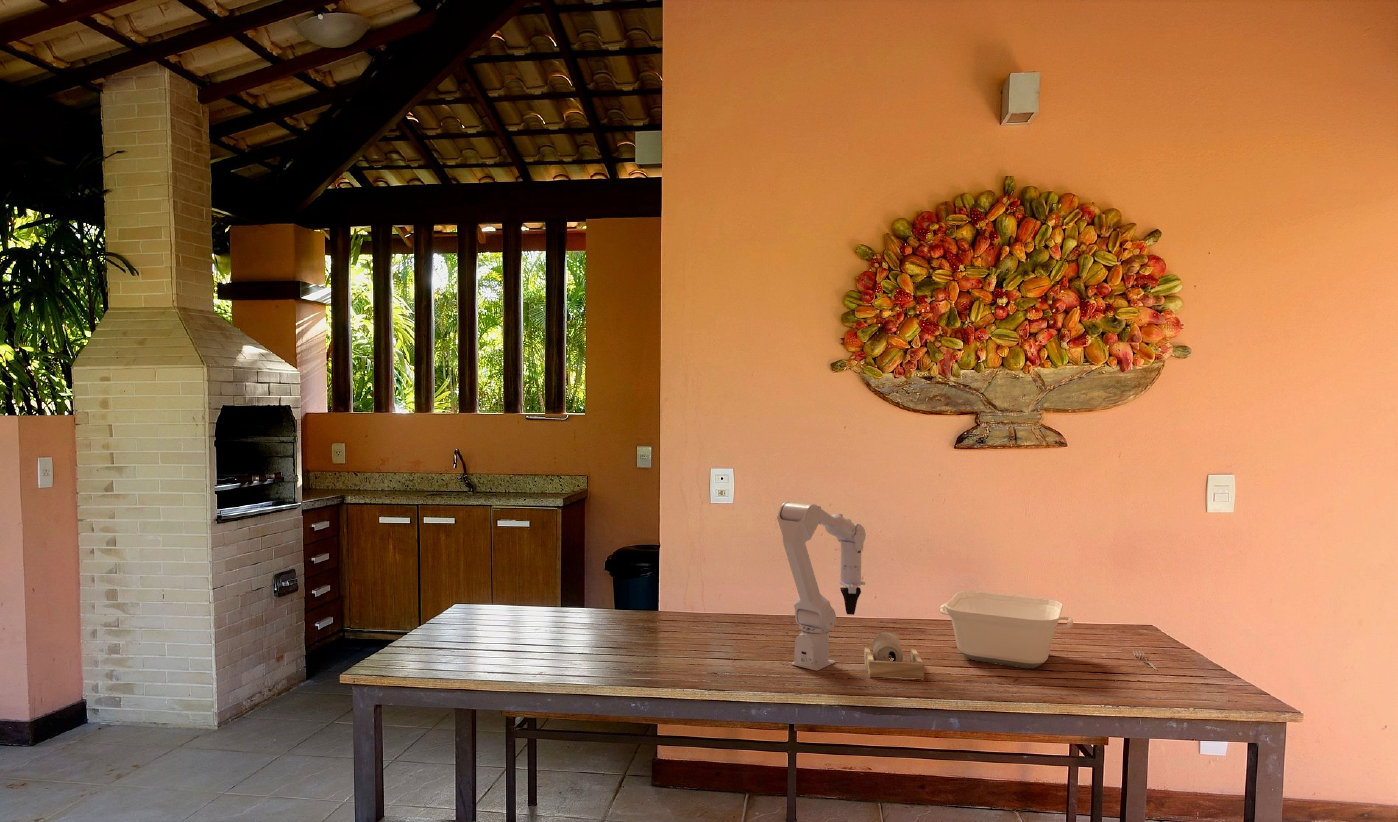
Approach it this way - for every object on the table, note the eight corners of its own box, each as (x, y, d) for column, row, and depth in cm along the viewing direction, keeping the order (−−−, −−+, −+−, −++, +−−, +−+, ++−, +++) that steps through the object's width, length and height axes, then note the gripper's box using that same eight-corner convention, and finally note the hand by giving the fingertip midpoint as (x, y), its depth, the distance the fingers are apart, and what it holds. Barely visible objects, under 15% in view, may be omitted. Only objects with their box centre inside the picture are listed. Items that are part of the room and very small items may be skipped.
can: (903, 657, 212) (905, 670, 200) (875, 660, 213) (876, 674, 201) (898, 629, 212) (900, 641, 200) (870, 632, 214) (871, 645, 202)
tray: (924, 680, 195) (924, 664, 195) (869, 677, 196) (869, 661, 196) (914, 663, 209) (914, 648, 209) (863, 661, 210) (864, 646, 210)
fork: (1163, 683, 196) (1163, 676, 196) (1130, 656, 219) (1130, 649, 219) (1177, 684, 195) (1177, 677, 195) (1143, 656, 219) (1143, 650, 219)
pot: (930, 662, 210) (930, 607, 210) (949, 637, 236) (949, 588, 236) (1070, 683, 194) (1070, 623, 195) (1074, 654, 220) (1075, 601, 220)
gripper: (867, 570, 212) (866, 621, 212) (863, 561, 227) (862, 608, 226) (841, 569, 213) (840, 619, 213) (838, 560, 228) (838, 607, 227)
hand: (850, 614), depth 220 cm, fingers closed
